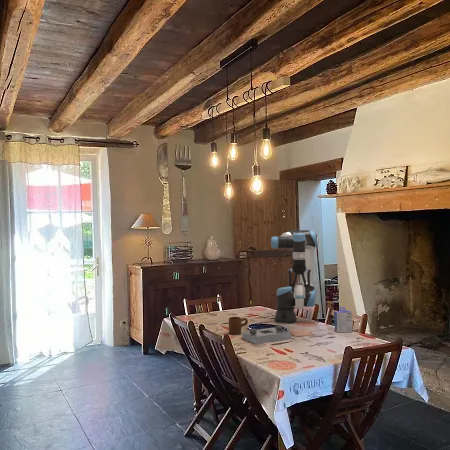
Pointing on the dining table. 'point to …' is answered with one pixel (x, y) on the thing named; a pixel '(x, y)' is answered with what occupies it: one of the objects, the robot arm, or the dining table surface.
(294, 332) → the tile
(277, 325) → the plunger far
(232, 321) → the mug
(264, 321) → the dining table surface
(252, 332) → the plunger near
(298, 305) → the cylinder
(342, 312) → the ink cartridge box
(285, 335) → the housing
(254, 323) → the dining table surface
